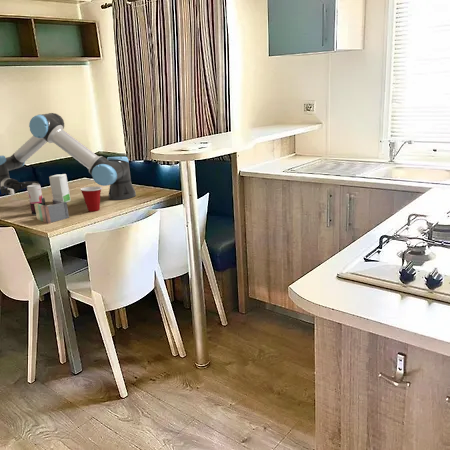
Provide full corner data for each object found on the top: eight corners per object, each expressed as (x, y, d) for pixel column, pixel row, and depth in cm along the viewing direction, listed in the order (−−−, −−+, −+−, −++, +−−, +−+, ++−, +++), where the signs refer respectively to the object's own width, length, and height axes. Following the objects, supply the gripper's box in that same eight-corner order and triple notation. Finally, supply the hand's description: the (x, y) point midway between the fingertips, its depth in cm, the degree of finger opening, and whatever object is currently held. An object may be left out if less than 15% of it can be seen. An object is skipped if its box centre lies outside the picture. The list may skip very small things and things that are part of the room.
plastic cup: (109, 209, 247) (106, 186, 243) (91, 214, 239) (87, 191, 236) (97, 206, 254) (94, 184, 250) (79, 211, 246) (75, 188, 243)
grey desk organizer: (37, 219, 236) (34, 203, 234) (57, 214, 244) (55, 199, 241) (47, 223, 228) (45, 207, 226) (69, 217, 235) (66, 202, 233)
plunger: (38, 216, 239) (34, 196, 236) (49, 213, 243) (46, 193, 240) (47, 219, 232) (43, 199, 229) (58, 216, 236) (55, 196, 233)
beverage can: (47, 213, 246) (42, 185, 242) (34, 216, 242) (29, 187, 238) (42, 211, 251) (37, 183, 247) (30, 214, 247) (24, 185, 243)
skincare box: (63, 204, 263) (58, 176, 259) (52, 204, 265) (48, 176, 260) (71, 200, 271) (66, 173, 267) (60, 200, 273) (56, 173, 268)
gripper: (33, 187, 274) (50, 191, 259) (-12, 196, 258) (3, 201, 243) (30, 174, 272) (47, 177, 257) (-15, 183, 255) (0, 187, 241)
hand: (26, 189), depth 250 cm, fingers open, 13 cm apart
